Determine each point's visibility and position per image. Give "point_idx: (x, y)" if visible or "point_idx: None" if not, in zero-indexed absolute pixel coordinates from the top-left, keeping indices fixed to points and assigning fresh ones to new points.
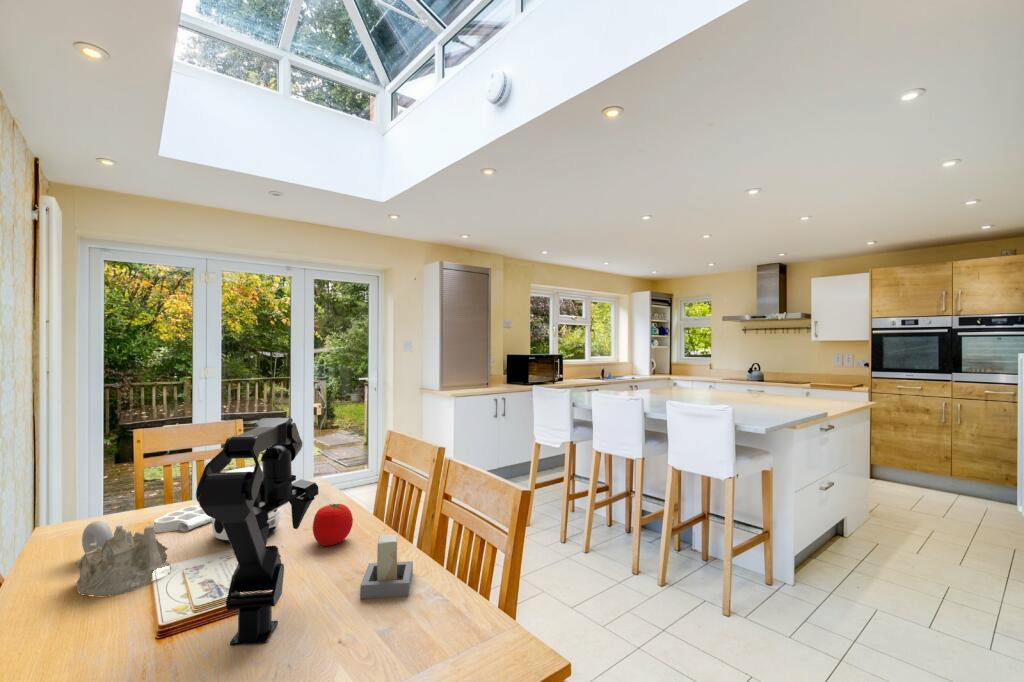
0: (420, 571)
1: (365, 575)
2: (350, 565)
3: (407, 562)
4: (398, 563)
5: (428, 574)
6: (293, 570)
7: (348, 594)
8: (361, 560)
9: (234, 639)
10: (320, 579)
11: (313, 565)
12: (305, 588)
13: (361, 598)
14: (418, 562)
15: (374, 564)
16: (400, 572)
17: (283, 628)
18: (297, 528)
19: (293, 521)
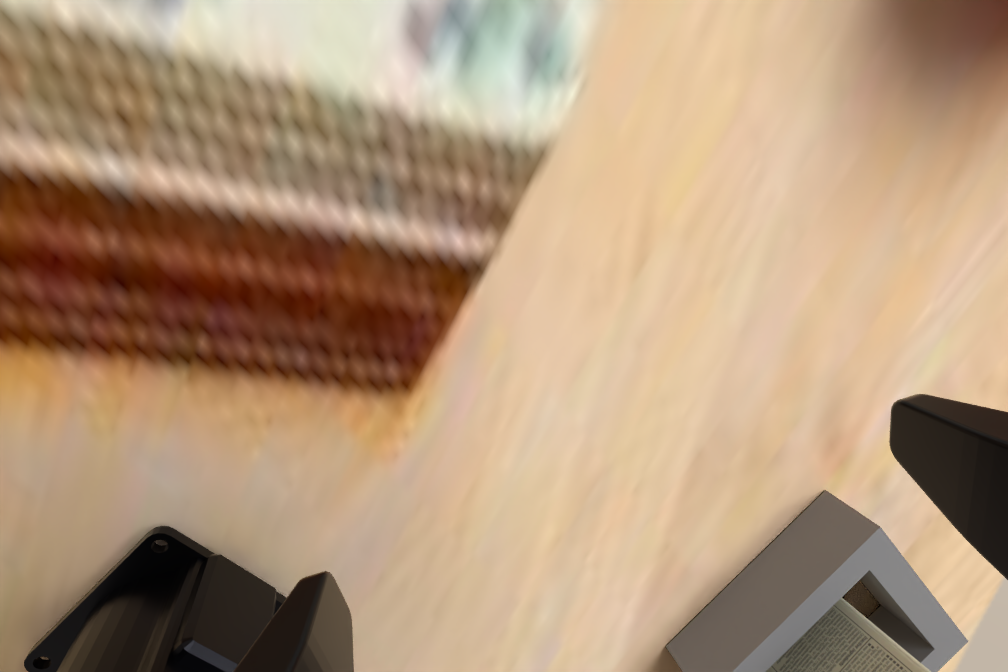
0: None
1: (780, 630)
2: (865, 321)
3: (951, 637)
4: (929, 621)
5: None
6: (678, 87)
7: (664, 579)
8: (927, 315)
9: (53, 651)
10: (689, 344)
11: (780, 136)
12: (585, 377)
13: (669, 649)
14: None
15: (881, 556)
16: (889, 608)
17: None
18: (904, 459)
19: (997, 470)
